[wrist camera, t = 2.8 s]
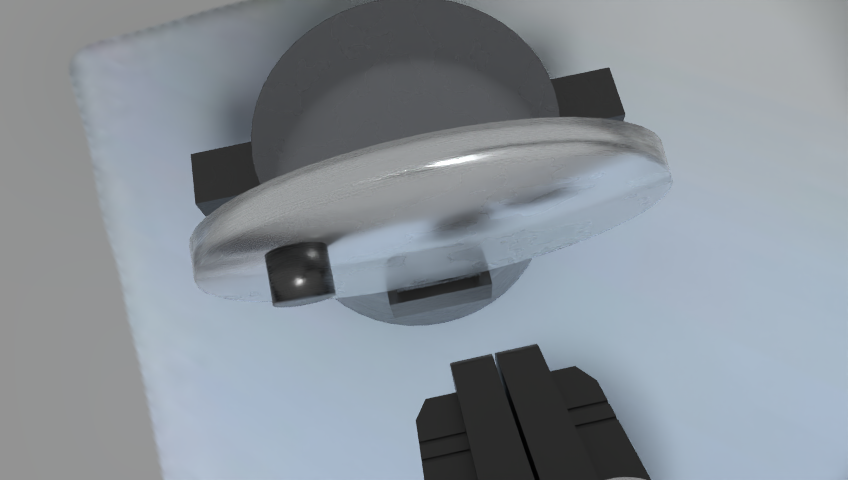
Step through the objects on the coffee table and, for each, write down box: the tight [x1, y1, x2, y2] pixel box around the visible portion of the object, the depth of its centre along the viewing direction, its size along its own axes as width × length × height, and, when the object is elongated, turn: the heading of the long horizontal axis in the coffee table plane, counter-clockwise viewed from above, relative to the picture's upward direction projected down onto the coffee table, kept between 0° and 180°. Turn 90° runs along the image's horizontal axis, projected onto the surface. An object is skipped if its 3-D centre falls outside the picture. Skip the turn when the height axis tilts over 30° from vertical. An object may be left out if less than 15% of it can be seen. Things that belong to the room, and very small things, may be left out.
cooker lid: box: [190, 117, 673, 307], centre depth 29 cm, size 18×17×3 cm
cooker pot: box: [191, 0, 625, 326], centre depth 46 cm, size 17×23×10 cm
